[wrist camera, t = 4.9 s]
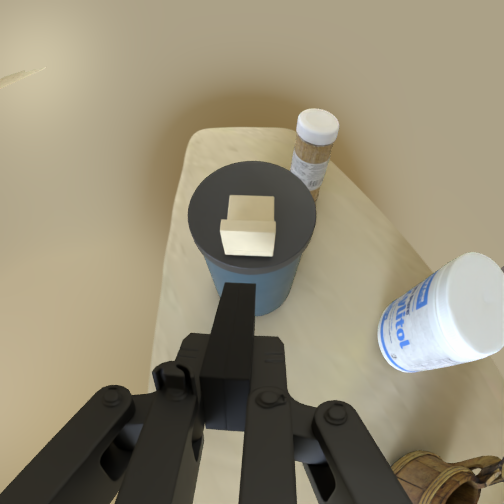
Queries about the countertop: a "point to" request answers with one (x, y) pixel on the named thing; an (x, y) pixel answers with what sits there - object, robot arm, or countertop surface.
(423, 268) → the countertop surface
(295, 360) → the countertop surface
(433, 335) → the supplement tub
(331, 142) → the sprinkles bottle
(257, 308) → the tumbler
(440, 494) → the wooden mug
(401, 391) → the countertop surface
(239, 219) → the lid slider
